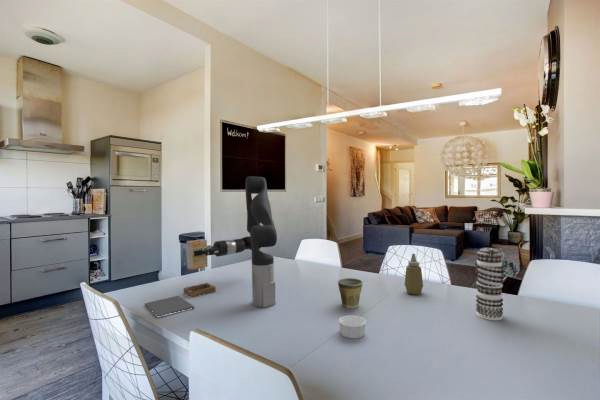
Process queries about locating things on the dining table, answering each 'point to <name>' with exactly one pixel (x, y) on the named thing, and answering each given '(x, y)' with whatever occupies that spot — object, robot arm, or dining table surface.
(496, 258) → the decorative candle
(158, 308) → the slate mat
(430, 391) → the dining table surface
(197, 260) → the supplement box
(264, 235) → the robot arm
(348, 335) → the ramekin
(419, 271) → the squeeze bottle
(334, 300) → the dining table surface
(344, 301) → the ceramic cup
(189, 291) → the cradle
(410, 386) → the dining table surface
